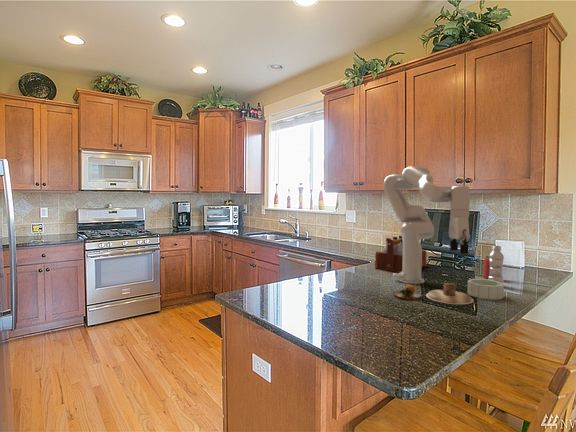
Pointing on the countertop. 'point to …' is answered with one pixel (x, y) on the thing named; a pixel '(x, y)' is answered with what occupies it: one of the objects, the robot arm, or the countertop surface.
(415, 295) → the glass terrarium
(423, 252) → the milk bottle holder
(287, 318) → the countertop surface
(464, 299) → the lid
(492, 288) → the bowl
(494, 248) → the plastic bottle
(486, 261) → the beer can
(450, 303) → the pad
